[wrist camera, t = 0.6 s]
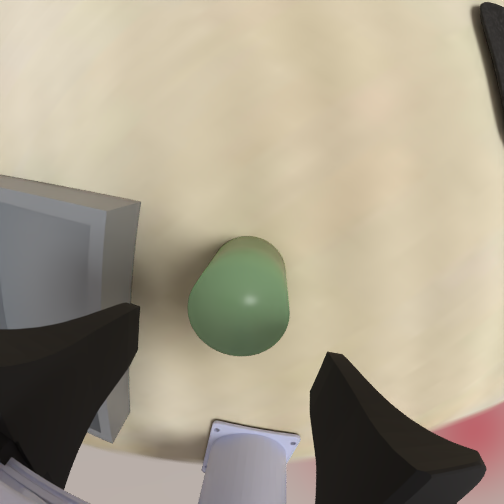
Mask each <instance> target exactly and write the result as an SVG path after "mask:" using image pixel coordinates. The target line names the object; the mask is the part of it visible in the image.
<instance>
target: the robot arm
mask: <svg viewBox="0 0 504 504" xmlns="http://www.w3.org/2000/svg"><path fill="white" fill-rule="evenodd" d="M139 315H140V306H136V305H133V304H130V303H127V302H125V303H121V304H118V305H115V306H112V307H109V308H106V309H103V310H100V311H97V312H95V313H92V314H89V315H86V316H83V317H79V318H76V319H72V320H69V321H66V322H62V323H57V324H53V325H47V326H42V327H34V328H23V329H0V504H90V503H88V502H85V501H84V500H81V499H80V498H78V497H76V496H74V495H72V494H70V493H68V492H66V491H64V488H65V485H66V482H67V479H68V476H69V473H70V470H71V467H72V465H73V462H74V460H75V457H76V455H77V453H78V450H79V448H80V446H81V444H82V441H83V439H84V437H85V435H86V433H87V431H88V429H89V427H90V425H91V423H92V421H93V419H94V417H95V415H96V414H97V412H98V410H99V409H100V407H101V406H102V404H103V403H104V401H105V400H106V399H107V397H108V396H109V395H110V393H111V392H112V390H113V389H114V388H115V386H116V385H117V383H118V382H119V381H120V379H121V378H122V376H123V375H124V374H125V372H126V371H127V369H128V368H129V366H130V364H131V362H132V360H133V358H134V356H135V354H136V352H137V350H138V333H139ZM310 419H311V427H312V434H313V442H314V449H315V457H316V499H315V500H316V501H315V504H457V502H458V501H459V500H461V499H462V498H463V497H464V496H465V495H466V494H467V493H469V492H470V491H471V490H472V489H473V488H474V487H475V486H476V485H477V484H478V483H479V482H480V481H481V479H482V478H483V476H484V474H485V471H486V466H485V464H484V462H483V460H482V458H481V456H480V454H479V453H478V452H477V451H476V450H473V449H470V448H467V447H464V446H461V445H458V444H456V443H453V442H451V441H448V440H446V439H444V438H442V437H440V436H438V435H436V434H434V433H432V432H430V431H429V430H427V429H425V428H424V427H422V426H420V425H419V424H417V423H416V422H414V421H413V420H411V419H410V418H408V417H407V416H406V415H404V414H403V413H402V412H401V411H399V410H398V409H397V408H395V407H394V406H393V405H392V404H391V403H390V402H388V401H387V400H386V399H385V398H384V397H383V396H382V395H381V394H380V393H379V392H378V391H377V390H376V389H375V388H374V387H373V386H372V385H371V384H370V383H369V382H368V381H367V380H366V379H365V378H364V377H363V376H362V374H361V373H360V372H359V371H358V370H357V369H356V368H355V367H354V366H353V365H352V364H351V362H350V361H349V360H348V359H347V358H346V357H345V356H344V355H342V354H338V353H332V352H327V354H326V356H325V358H324V361H323V363H322V366H321V368H320V370H319V372H318V375H317V377H316V379H315V382H314V384H313V386H312V388H311V390H310ZM217 428H218V429H217ZM299 442H300V436H299V435H296V434H288V433H281V432H275V431H268V430H262V429H257V428H251V427H246V426H241V425H236V424H231V423H227V422H222V421H214V422H213V424H212V428H211V433H210V437H209V441H208V445H207V449H206V454H205V458H204V462H203V466H202V471H203V472H204V473H205V476H204V481H203V485H202V489H201V493H200V498H199V502H198V504H286V464H287V462H288V461H289V459H290V457H291V456H292V454H293V452H294V451H295V449H296V447H297V445H298V444H299Z"/></svg>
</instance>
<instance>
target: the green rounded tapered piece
mask: <svg viewBox="0 0 504 504" xmlns="http://www.w3.org/2000/svg"><path fill="white" fill-rule="evenodd" d="M188 316H189V320H190V323H191V325H192V327H193V329H194V331H195V332H196V334H197V335H198V336H199V338H200V339H201V340H202V341H203V342H204V343H206V344H207V345H208V346H210V347H211V348H213V349H215V350H217V351H219V352H221V353H224V354H228V355H233V356H250V355H255V354H259V353H261V352H264V351H266V350H267V349H269V348H271V347H272V346H273V345H275V344H276V343H277V342H278V341H279V340H280V338H281V337H282V336H283V334H284V332H285V331H286V328H287V326H288V322H289V301H288V291H287V280H286V270H285V264H284V261H283V258H282V256H281V254H280V253H279V252H278V250H277V249H276V248H275V247H274V246H273V245H272V244H270V243H269V242H267V241H265V240H263V239H261V238H257V237H252V236H244V237H238V238H235V239H232V240H230V241H229V242H227V243H226V244H224V245H223V246H222V247H221V248H220V249H219V251H218V252H217V253H216V255H215V256H214V258H213V259H212V261H211V262H210V263H209V265H208V266H207V268H206V269H205V271H204V272H203V274H202V275H201V276H200V278H199V279H198V281H197V282H196V284H195V285H194V287H193V289H192V290H191V293H190V295H189V300H188Z"/></svg>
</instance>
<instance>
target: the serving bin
mask: <svg viewBox="0 0 504 504" xmlns="http://www.w3.org/2000/svg"><path fill="white" fill-rule="evenodd" d="M140 204H141V202H139V201H134V200H130V199H125V198H120V197H115V196H110V195H105V194H100V193H95V192H90V191H85V190H80V189H75V188H70V187H64V186H59V185H54V184H49V183H43V182H38V181H32V180H27V179H21V178H16V177H10V176H4V175H0V329H23V328H34V327H42V326H47V325H53V324H57V323H62V322H66V321H69V320H72V319H76V318H79V317H83V316H86V315H89V314H92V313H95V312H97V311H100V310H103V309H106V308H109V307H112V306H115V305H118V304H121V303H125V302H127V303H130V300H131V285H132V272H133V261H134V251H135V242H136V234H137V226H138V218H139V211H140ZM129 413H130V400H129V368H128V369H127V371H126V372H125V374H124V375H123V376H122V378H121V379H120V381H119V382H118V383H117V385H116V386H115V388H114V389H113V390H112V392H111V393H110V395H109V396H108V397H107V399H106V400H105V401H104V403H103V404H102V406H101V407H100V409H99V410H98V412H97V414H96V415H95V417H94V419H93V421H92V423H91V425H90V427H89V429H88V431H87V432H88V433H90V434H92V435H94V436H96V437H99V438H101V439H103V440H105V441H108V442H110V443H112V444H113V442H114V440H115V438H116V437H117V435H118V433H119V431H120V429H121V428H122V426H123V424H124V422H125V420H126V419H127V417H128V415H129Z"/></svg>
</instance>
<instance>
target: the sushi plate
mask: <svg viewBox="0 0 504 504" xmlns="http://www.w3.org/2000/svg"><path fill="white" fill-rule="evenodd" d="M480 16H481V21H482V25H483V28H484V32H485V35H486V39H487V42H488V46H489V49H490V53H491V56H492V60H493V64H494V68H495V72H496V76H497V81H498V85H499V90H500V95H501V100H502V105H503V110H504V7H502V6H500V5H497V4H494V3H490V2H484V3H482V4H481V6H480Z"/></svg>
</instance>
